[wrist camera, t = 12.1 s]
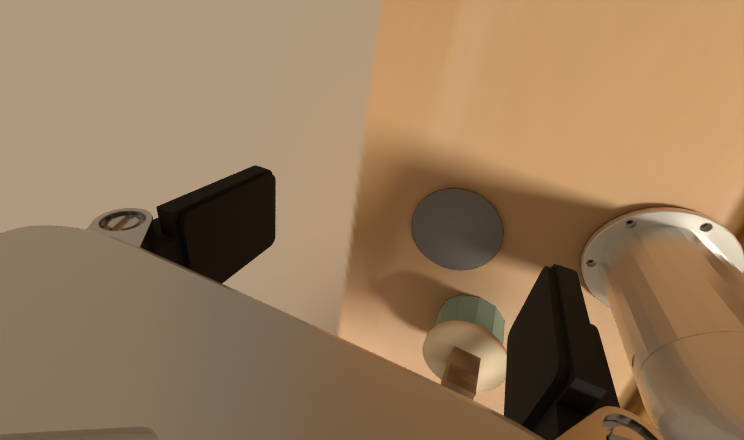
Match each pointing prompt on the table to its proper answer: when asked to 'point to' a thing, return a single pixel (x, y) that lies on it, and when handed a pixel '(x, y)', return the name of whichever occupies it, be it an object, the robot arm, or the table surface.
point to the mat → (457, 229)
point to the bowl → (473, 314)
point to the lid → (465, 357)
